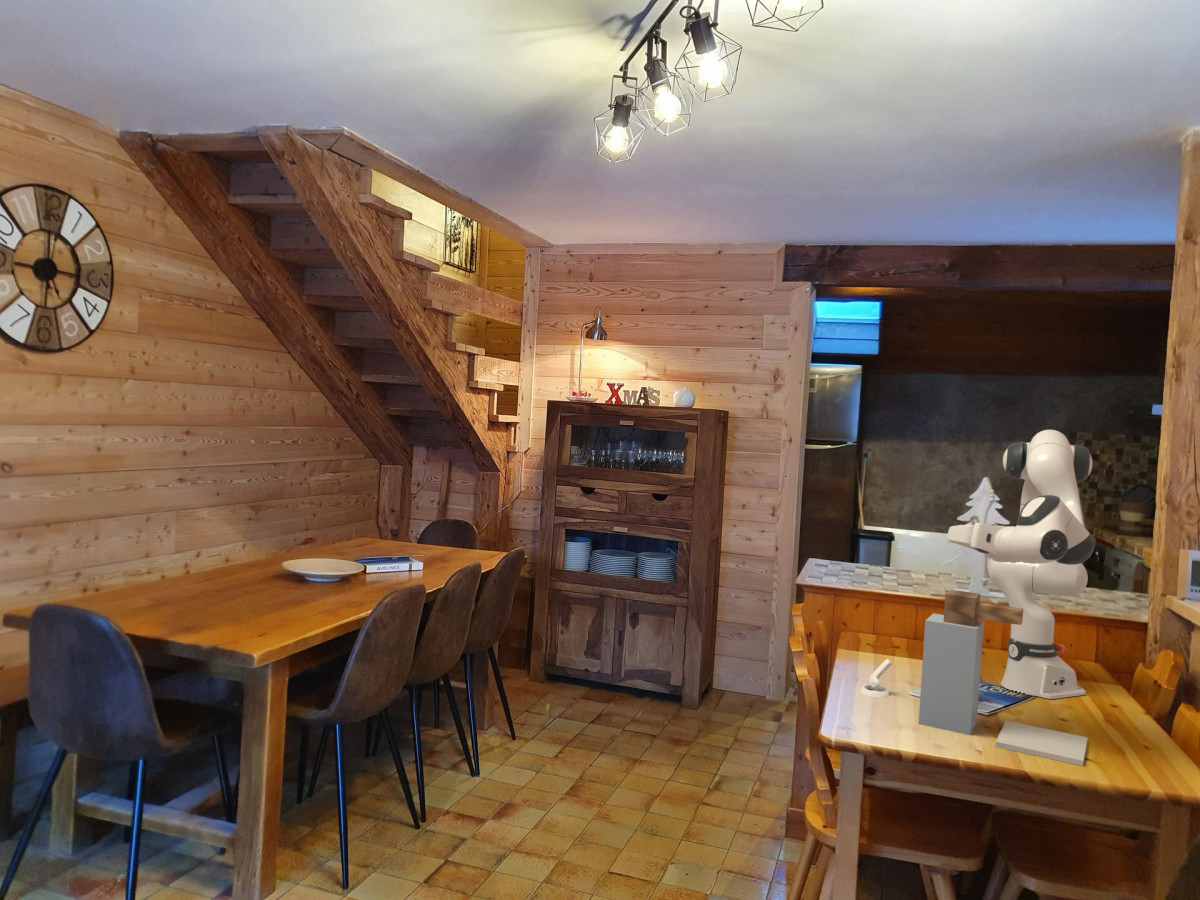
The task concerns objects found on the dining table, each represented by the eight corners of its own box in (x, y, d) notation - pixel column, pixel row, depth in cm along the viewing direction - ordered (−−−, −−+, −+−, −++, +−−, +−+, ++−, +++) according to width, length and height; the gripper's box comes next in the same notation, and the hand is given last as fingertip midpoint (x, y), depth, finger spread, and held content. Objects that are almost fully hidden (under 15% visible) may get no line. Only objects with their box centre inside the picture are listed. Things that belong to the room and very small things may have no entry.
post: (976, 723, 221) (983, 621, 219) (970, 734, 212) (977, 628, 211) (926, 712, 227) (933, 613, 226) (918, 723, 218) (925, 620, 217)
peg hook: (1022, 628, 213) (1024, 600, 213) (1019, 634, 207) (1021, 604, 207) (948, 617, 222) (950, 589, 222) (943, 621, 216) (945, 593, 216)
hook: (912, 681, 237) (894, 667, 235) (882, 713, 239) (864, 699, 237) (900, 667, 244) (883, 653, 242) (871, 698, 246) (854, 685, 244)
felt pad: (1087, 742, 211) (1087, 737, 211) (1082, 766, 196) (1083, 760, 196) (1005, 725, 220) (1005, 720, 220) (995, 746, 205) (995, 741, 205)
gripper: (1039, 543, 219) (999, 543, 232) (973, 520, 213) (936, 521, 226) (1035, 568, 218) (994, 566, 231) (969, 545, 212) (931, 545, 225)
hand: (965, 544), depth 229 cm, fingers open, 8 cm apart
